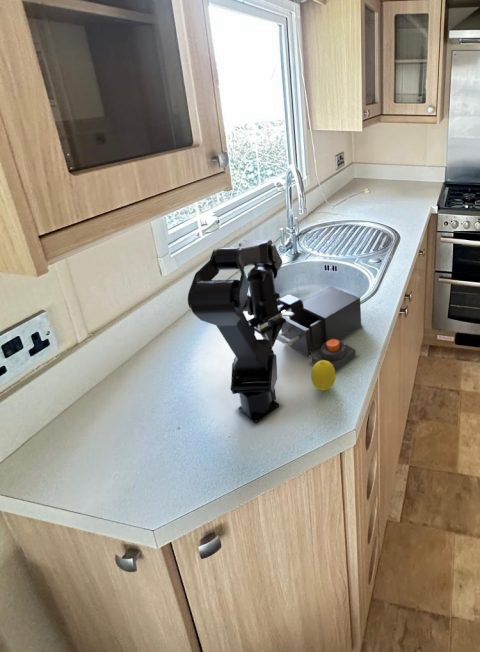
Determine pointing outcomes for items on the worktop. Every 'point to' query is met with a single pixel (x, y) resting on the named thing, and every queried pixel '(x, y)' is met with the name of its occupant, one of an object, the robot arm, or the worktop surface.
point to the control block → (335, 355)
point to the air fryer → (335, 312)
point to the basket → (302, 332)
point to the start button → (333, 345)
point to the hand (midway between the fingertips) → (270, 346)
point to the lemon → (323, 375)
